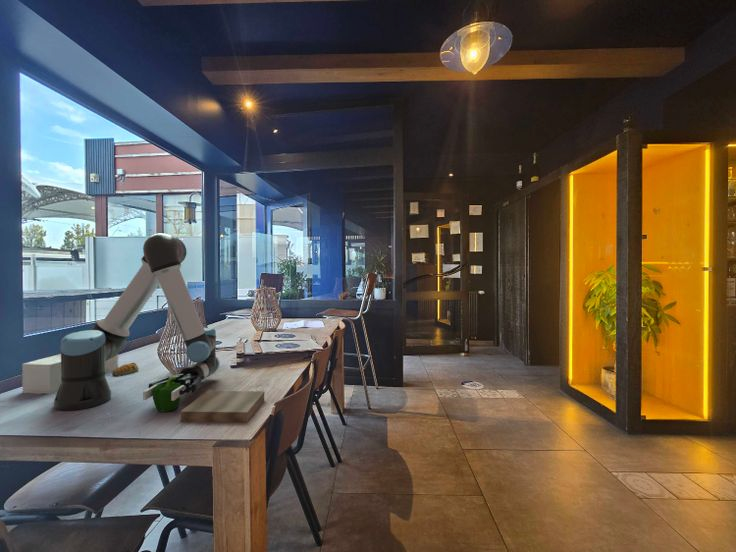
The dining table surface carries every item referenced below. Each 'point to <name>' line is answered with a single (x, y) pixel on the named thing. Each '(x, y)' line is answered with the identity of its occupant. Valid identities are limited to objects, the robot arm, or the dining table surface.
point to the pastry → (126, 369)
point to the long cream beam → (50, 374)
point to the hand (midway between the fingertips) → (158, 396)
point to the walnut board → (223, 406)
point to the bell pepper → (165, 396)
